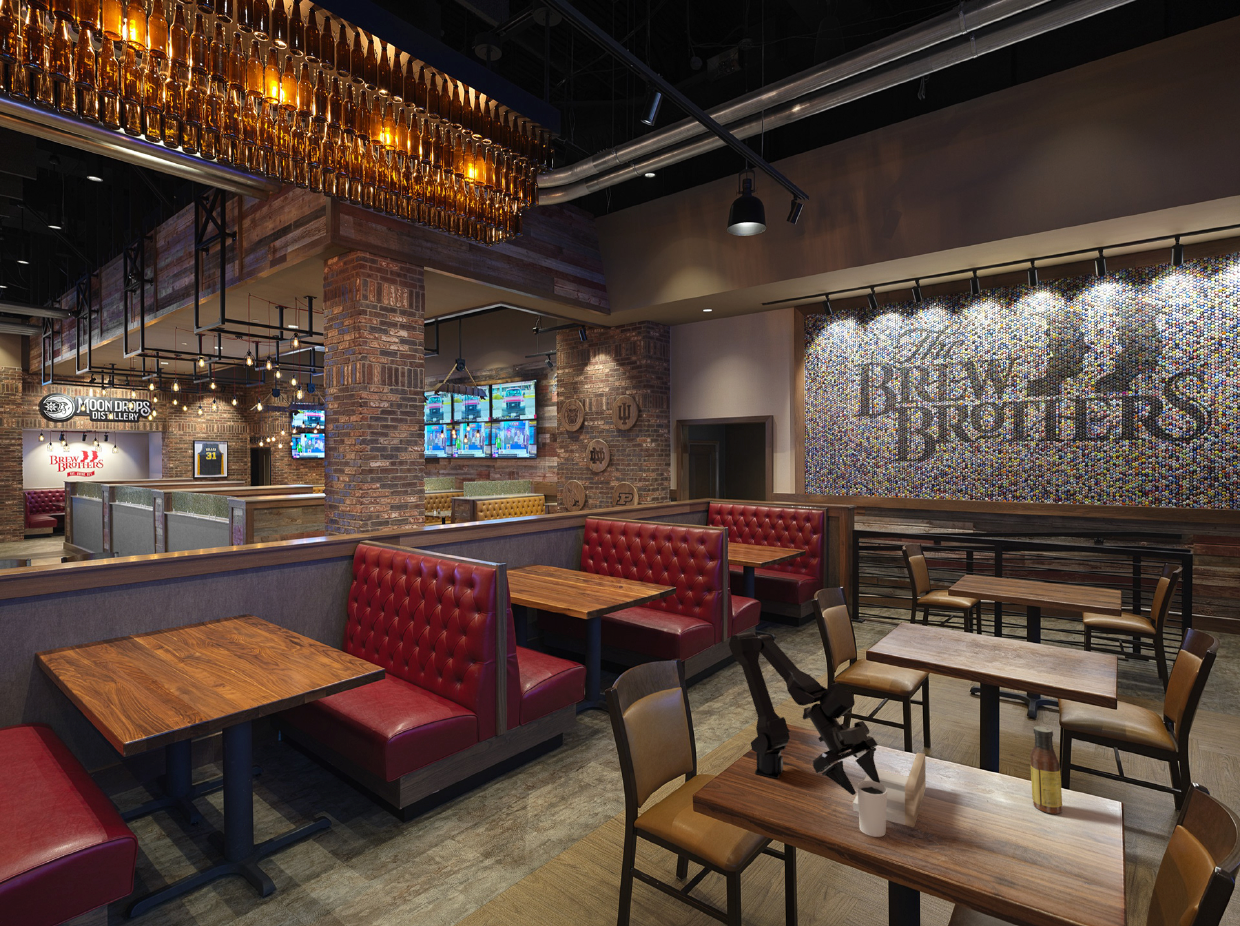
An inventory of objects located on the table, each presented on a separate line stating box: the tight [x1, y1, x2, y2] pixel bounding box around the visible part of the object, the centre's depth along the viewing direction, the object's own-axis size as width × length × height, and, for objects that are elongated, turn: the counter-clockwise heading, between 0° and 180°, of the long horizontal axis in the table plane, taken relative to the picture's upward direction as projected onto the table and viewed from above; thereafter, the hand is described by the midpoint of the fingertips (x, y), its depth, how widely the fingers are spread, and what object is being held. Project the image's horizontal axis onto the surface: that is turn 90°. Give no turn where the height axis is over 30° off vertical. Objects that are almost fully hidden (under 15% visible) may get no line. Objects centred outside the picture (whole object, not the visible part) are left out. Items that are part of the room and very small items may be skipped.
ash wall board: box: [904, 752, 927, 828], centre depth 158 cm, size 2×22×9 cm, turn 147°
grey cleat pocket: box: [852, 768, 909, 826], centre depth 162 cm, size 12×22×4 cm, turn 147°
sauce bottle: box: [1030, 725, 1063, 815], centre depth 157 cm, size 7×6×20 cm
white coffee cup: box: [856, 780, 887, 838], centre depth 148 cm, size 7×7×10 cm
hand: (866, 788), depth 149 cm, fingers open, 9 cm apart
